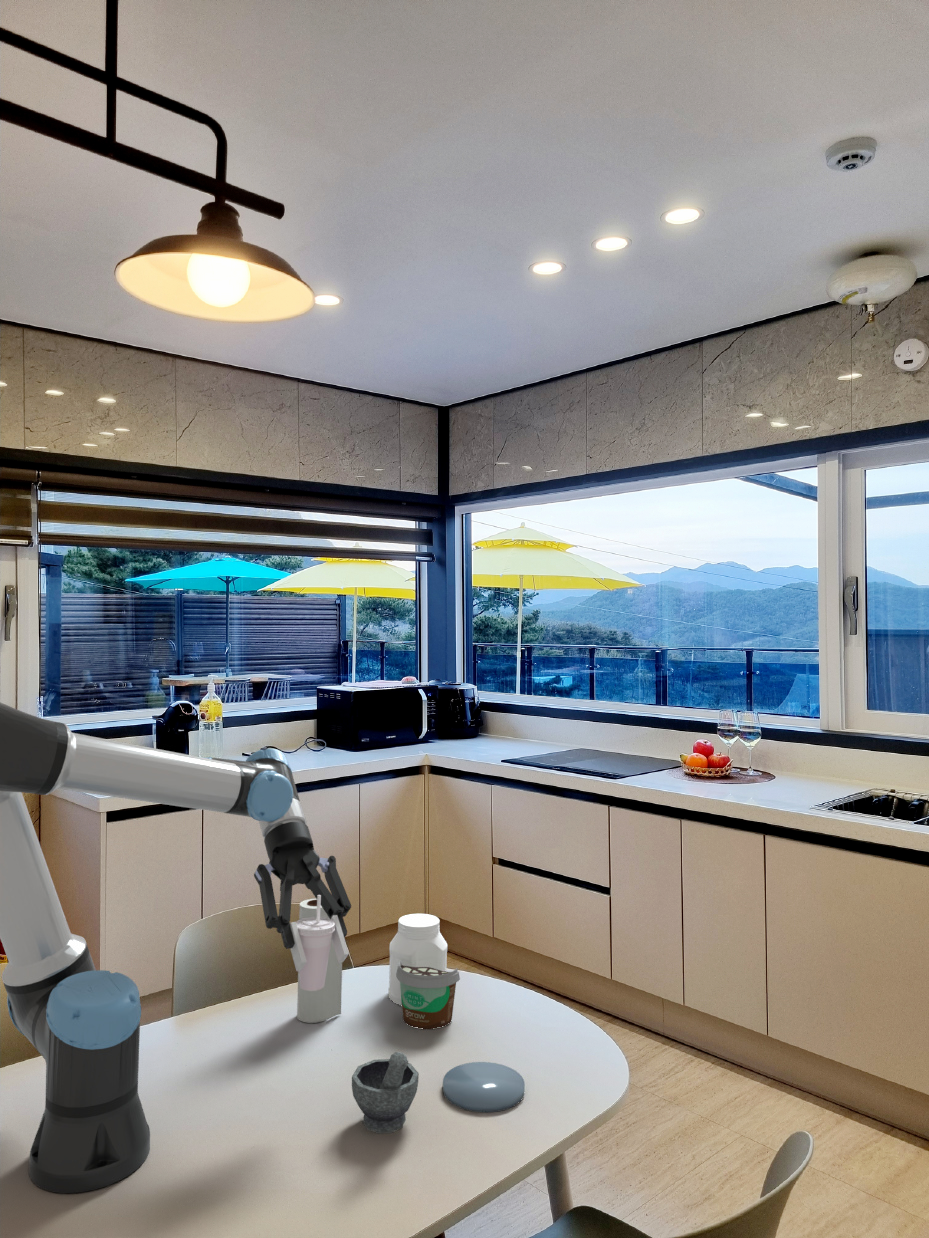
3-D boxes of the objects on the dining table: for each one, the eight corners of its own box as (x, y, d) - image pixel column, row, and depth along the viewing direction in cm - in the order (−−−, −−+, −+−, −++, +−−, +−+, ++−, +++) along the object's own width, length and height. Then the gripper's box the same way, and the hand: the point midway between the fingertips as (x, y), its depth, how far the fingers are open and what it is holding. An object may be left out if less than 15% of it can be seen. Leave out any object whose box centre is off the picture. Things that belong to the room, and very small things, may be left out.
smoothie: (328, 995, 132) (332, 902, 132) (286, 993, 132) (290, 900, 133) (336, 978, 138) (339, 890, 139) (295, 976, 139) (299, 888, 139)
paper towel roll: (290, 1019, 162) (292, 904, 162) (309, 1007, 167) (311, 895, 168) (322, 1027, 159) (325, 910, 159) (341, 1014, 164) (343, 901, 165)
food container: (385, 1026, 160) (386, 971, 160) (397, 1012, 166) (398, 959, 166) (448, 1036, 156) (450, 980, 157) (459, 1022, 162) (460, 968, 162)
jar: (435, 982, 180) (436, 909, 181) (453, 1000, 172) (455, 924, 172) (382, 990, 176) (383, 915, 176) (398, 1009, 167) (399, 931, 167)
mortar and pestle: (343, 1111, 132) (345, 1031, 132) (401, 1097, 136) (403, 1020, 136) (369, 1152, 121) (370, 1065, 122) (430, 1136, 126) (432, 1052, 126)
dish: (518, 1117, 131) (518, 1108, 131) (434, 1106, 134) (434, 1098, 134) (529, 1074, 144) (529, 1066, 144) (452, 1064, 146) (452, 1057, 146)
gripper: (330, 839, 154) (370, 962, 140) (223, 850, 143) (255, 985, 129) (345, 814, 150) (387, 939, 136) (235, 824, 139) (269, 961, 125)
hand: (323, 961), depth 132 cm, fingers closed on smoothie, 6 cm apart
